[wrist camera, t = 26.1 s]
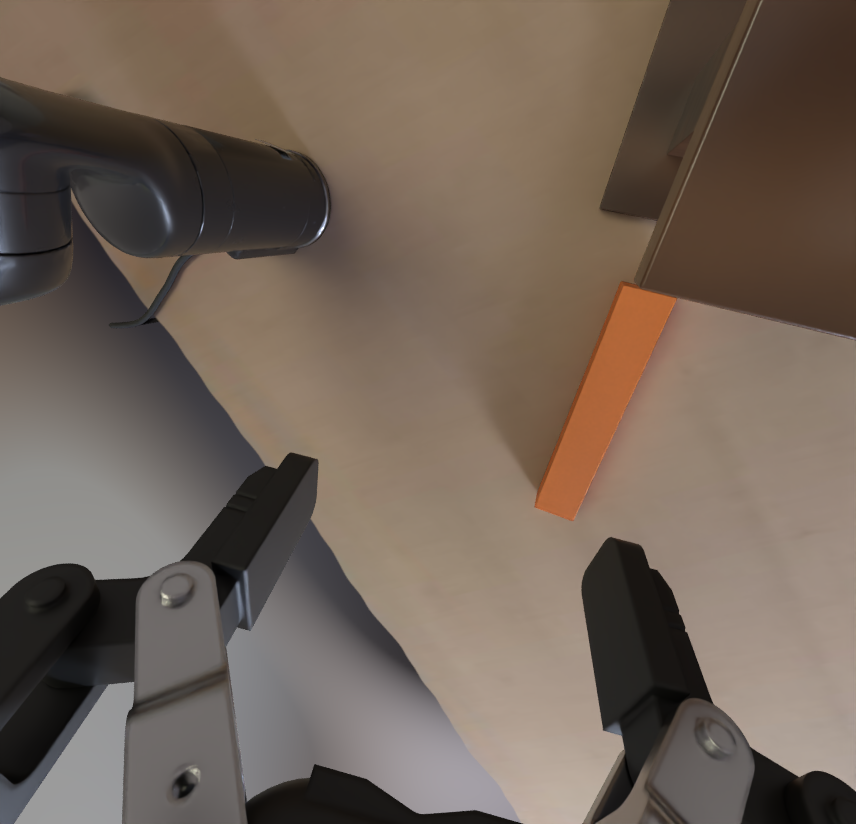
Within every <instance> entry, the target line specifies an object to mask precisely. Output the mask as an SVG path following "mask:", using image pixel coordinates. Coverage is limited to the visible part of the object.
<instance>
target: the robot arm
mask: <svg viewBox="0 0 856 824" xmlns="http://www.w3.org/2000/svg"><path fill="white" fill-rule="evenodd" d="M256 140H258V139H256ZM258 141H261V142H263V143H265V144H268V145H270V146H267V145H263V144H259V143H255V142H251V141H247V140H243V139H239V138H234V137H230V136H226V135H222V134H218V133H214V132H210V131H206V130H202V129H198V128H194V127H190V126H185V125H181V124H177V123H173V122H169V121H165V120H160V119H156V118H152V117H148V116H144V115H140V114H135V113H131V112H127V111H123V110H119V109H115V108H111V107H108V106H104V105H100V104H96V103H93V102H89V101H85V100H81V99H77V98H74V97H70V96H66V95H62V94H58V93H54V92H50V91H46V90H42V89H39V88H36V87H32V86H29V85H25V84H22V83H18V82H15V81H11V80H8V79H5V78H1V77H0V305H6V304H11V303H15V302H20V301H24V300H29V299H32V298H36V297H39V296H42V295H44V294H47V293H50V292H52V291H54V290H56V289H57V288H58V287H60V286H61V285H62V284H63V283H64V282H65V281H66V280H67V278H68V277H69V274H70V271H71V267H72V260H73V237H72V236H73V235H72V234H73V233H72V209H71V189H72V191H73V193H74V196H75V198H76V200H77V202H78V204H79V206H80V208H81V209H82V211H83V213H84V214H85V216H86V218H87V219H88V220H89V222H90V223H91V224H92V226H93V227H94V228H95V229H96V231H97V232H98V233H99V234H100V235H101V236H102V237H103V238H104V239H105V240H106V241H108V242H109V243H110V244H111V245H113V246H114V247H116V248H117V249H119V250H121V251H122V252H124V253H126V254H129V255H132V256H136V257H141V258H163V257H173V256H180V257H179V259H178V260H177V261H176V263H175V264H174V266H173V268H172V270H171V272H170V274H169V276H168V278H167V280H166V282H165V284H164V285H163V287H162V289H161V290H160V292H159V293H158V295H157V296H156V298H155V300H154V301H153V303H152V305H151V306H150V308H149V309H148V311H147V312H146V313H145V314H144V315H143V316H142V317H141V318H139V319H138V320H135V321H130V322H120V323H110V324H109V326H110V327H111V328H130V327H135V326H139V325H145V324H150V323H156V322H159V321H158V319H157V318H151V319H149V318H150V317H151V316H152V315H153V314H154V312H155V311H156V309H157V308H158V306H159V305H160V303H161V301H162V300H163V298H164V297H165V295H166V294H167V292H168V291H169V289H170V288H171V286H172V284H173V282H174V280H175V278H176V276H177V274H178V272H179V270H180V268H181V267H182V265H183V264H184V263H185V262H186V261H187V260H188V259H189V258H190V257H192V256H193V255H198V254H208V253H221V252H227V253H228V254H229V255H230V256H231V257H232V258H234V259H246V258H256V257H265V256H275V255H285V254H294V253H295V252H296V250H297V249H298V248H299V247H305V246H309V245H311V244H313V243H314V242H316V241H317V240H318V239H319V238H320V237H321V236H322V234H323V233H324V231H325V229H326V227H327V224H328V221H329V217H330V209H331V202H330V194H329V189H328V186H327V183H326V181H325V178H324V176H323V174H322V173H321V171H320V169H319V168H318V167H317V166H316V164H315V163H314V162H313V161H312V160H311V159H309V158H308V157H307V156H305V155H303V154H301V153H299V152H296V151H292V150H285V149H282V148H279V147H277V146H275V145H272V144H270V143H267V142H265V141H262V140H258ZM271 146H272V147H271ZM317 480H318V460H317V459H315V458H311V457H307V456H303V455H299V454H296V453H292V452H291V453H289V454H288V455H287V456H286V457H285V459H284V460H283V462H282V463H281V464H280V466H279V467H278V469H275V468H272V467H268V466H265V467H263V468H261V469H260V470H258V471H257V472H255V473H253V474H252V475H250V476H249V477H247V479H246V480H245V481H244V483H243V484H242V485H241V486H240V488H239V489H238V490H237V492H236V494H235V495H233V497H232V498H231V499H230V500H229V502H228V503H227V505H226V507H224V508H223V509H222V511H221V512H220V513H219V514H218V516H217V517H216V518H215V519H214V521H213V522H212V523H211V525H210V526H209V527H208V528H207V530H206V531H205V532H204V533H203V535H202V536H201V537H200V539H199V540H198V541H197V542H196V544H195V545H194V546H193V548H192V549H191V550H190V551H189V552H188V554H187V555H186V556H185V557H184V558H183V559H182V560H181V561H180V562H175V563H172V564H169V565H167V566H165V567H163V568H161V569H159V570H158V571H156V572H155V573H153V574H152V575H151V576H148V577H144V578H132V579H108V580H95V579H94V577H93V575H92V573H91V571H89V570H88V569H87V568H86V567H84V566H81V565H78V564H57V565H53V566H49V567H46V568H43V569H40V570H38V571H36V572H34V573H32V574H30V575H28V576H26V577H25V578H23V579H22V580H20V581H19V582H18V583H16V584H15V585H14V586H13V587H12V588H11V589H10V590H9V591H8V592H7V593H6V594H5V595H3V596H2V597H1V598H0V824H14V823H15V821H16V820H17V818H18V817H19V815H20V814H21V812H22V811H23V809H24V808H25V806H26V805H27V803H28V802H29V800H30V799H31V798H32V796H33V795H34V793H35V792H36V790H37V789H38V787H39V786H40V784H41V783H42V781H43V780H44V778H45V777H46V776H47V774H48V772H49V771H50V770H51V768H52V767H53V765H54V764H55V762H56V761H57V759H58V758H59V756H60V755H61V753H62V752H63V750H64V749H65V747H66V746H67V745H68V743H69V742H70V740H71V739H72V737H73V736H74V734H75V733H76V731H77V730H78V728H79V727H80V725H81V724H82V722H83V721H84V719H85V718H86V717H87V715H88V714H89V712H90V711H91V709H92V708H93V706H94V705H95V703H96V702H97V700H98V699H99V697H100V696H101V694H102V693H103V691H104V690H105V689H106V687H107V686H108V684H115V683H127V682H134V703H133V707H132V709H131V710H130V711H129V712H128V715H127V720H126V728H125V748H124V779H123V780H124V781H123V810H122V824H522V823H518V822H514V821H512V820H508V819H505V818H501V817H497V816H494V815H491V814H487V813H483V812H480V811H476V810H473V811H460V812H448V813H434V814H418V813H416V812H414V811H412V810H410V809H409V808H408V807H406V806H405V805H403V804H402V803H400V802H399V801H398V800H396V799H395V798H393V797H392V796H390V795H389V794H387V793H386V792H384V791H383V790H382V789H380V788H378V787H377V786H376V785H374V784H373V783H372V782H370V781H369V780H367V779H364V778H361V777H357V776H354V775H351V774H347V773H343V772H340V771H337V770H333V769H330V768H326V767H322V766H319V765H316V764H315V765H314V767H313V770H312V774H311V777H310V778H304V779H303V778H302V779H296V780H291V781H287V782H284V783H281V784H278V785H276V786H273V787H271V788H269V789H267V790H265V791H263V792H261V793H260V794H258V795H256V796H254V797H253V798H252V799H250V800H249V801H247V796H246V789H245V781H244V774H243V767H242V759H241V752H240V746H239V738H238V731H237V724H236V717H235V709H234V702H233V694H232V687H231V680H230V672H229V665H228V657H227V650H226V646H227V644H228V642H229V640H230V639H231V637H232V635H233V633H234V632H235V630H236V628H237V627H238V628H242V629H245V630H249V631H251V629H252V627H253V625H254V624H255V621H256V620H257V618H258V616H259V614H260V612H261V610H262V608H263V607H264V605H265V603H266V601H267V599H268V597H269V595H270V593H271V592H272V590H273V588H274V586H275V584H276V582H277V580H278V578H279V577H280V575H281V573H282V571H283V569H284V567H285V565H286V563H287V562H288V560H289V558H290V556H291V554H292V552H293V550H294V548H295V546H296V545H297V543H298V541H299V539H300V537H301V535H302V533H303V532H304V530H305V528H306V526H307V524H308V522H309V520H310V518H311V516H312V513H313V510H314V507H315V503H316V497H317ZM581 590H582V599H583V605H584V612H585V618H586V624H587V630H588V637H589V643H590V649H591V656H592V662H593V668H594V675H595V681H596V687H597V694H598V700H599V706H600V712H601V719H602V725H603V731H607V732H610V733H614V734H618V735H621V736H622V738H623V743H624V750H623V751H622V752H621V753H620V754H619V756H618V758H617V760H616V761H615V763H614V765H613V767H612V769H611V771H610V773H609V775H608V777H607V778H606V780H605V782H604V784H603V786H602V788H601V790H600V792H599V794H598V795H597V797H596V799H595V801H594V803H593V805H592V807H591V809H590V811H589V812H588V814H587V816H586V818H585V820H584V822H583V823H582V824H856V791H854V790H853V789H852V788H851V787H850V786H848V785H847V784H846V783H844V782H843V781H841V780H840V779H838V778H836V777H835V776H833V775H831V774H828V773H826V772H822V771H812V772H809V773H807V774H805V775H803V776H801V777H798V776H796V775H795V774H793V773H791V772H790V771H788V770H786V769H785V768H783V767H781V766H780V765H778V764H777V763H775V762H773V761H772V760H770V759H768V758H767V757H765V756H763V755H762V754H760V753H758V752H757V751H755V750H754V749H752V748H751V747H750V746H749V744H748V742H747V740H746V738H745V736H744V735H743V733H742V731H741V730H740V729H739V727H738V726H737V725H736V724H735V722H734V721H733V720H732V719H731V718H730V717H729V716H728V715H727V714H726V713H725V712H723V711H722V710H721V709H720V708H718V707H717V706H715V705H714V704H713V702H712V699H711V697H710V694H709V692H708V689H707V686H706V683H705V681H704V678H703V675H702V672H701V669H700V667H699V664H698V661H697V658H696V656H695V653H694V650H693V647H692V645H691V642H690V639H689V636H688V634H687V632H685V625H684V622H683V620H682V617H681V615H679V609H678V606H677V603H676V600H675V598H674V595H673V592H672V590H671V588H670V587H669V586H668V584H667V583H666V581H665V580H664V579H663V577H662V576H661V575H660V573H659V572H658V570H654V569H650V568H649V565H648V562H647V559H646V556H645V552H644V550H643V548H642V547H641V546H640V545H639V544H635V543H631V542H627V541H623V540H620V539H616V538H612V537H610V538H608V539H606V541H605V542H604V543H603V545H602V546H601V548H600V550H599V551H598V553H597V554H596V556H595V557H594V559H593V560H592V562H591V563H590V565H589V566H588V568H587V569H586V571H585V573H584V576H583V580H582V589H581Z"/></svg>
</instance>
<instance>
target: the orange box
mask: <svg viewBox="0 0 856 824" xmlns="http://www.w3.org/2000/svg"><path fill="white" fill-rule="evenodd" d="M676 300H677V298H676V297H672V296H668V295H664V294H659V293H655V292H651V291H647V290H643V289H641V288H640V287H639V286H638V285H635V284H631V283H627V282H623V281H621V282H620V285H619V287H618V290H617V292H616V295H615V297H614V300H613V302H612V305H611V307H610V310H609V313H608V315H607V318H606V320H605V323H604V325H603V328H602V330H601V333H600V335H599V338H598V340H597V343H596V345H595V348H594V350H593V353H592V355H591V358H590V360H589V363H588V366H587V368H586V371H585V373H584V376H583V378H582V381H581V383H580V386H579V388H578V391H577V393H576V396H575V398H574V401H573V403H572V406H571V408H570V411H569V414H568V416H567V419H566V421H565V424H564V426H563V429H562V431H561V434H560V436H559V439H558V441H557V444H556V446H555V449H554V451H553V454H552V456H551V459H550V461H549V464H548V467H547V469H546V472H545V474H544V477H543V479H542V482H541V484H540V487H539V489H538V492H537V496H536V502H535V508H538V509H541V510H543V511H546V512H549V513H552V514H554V515H557V516H560V517H562V518H565V519H568V520H571V521H574V519H575V516H576V514H577V512H578V510H579V508H580V506H581V504H582V501H583V499H584V497H585V495H586V493H587V491H588V489H589V486H590V484H591V482H592V480H593V478H594V476H595V473H596V471H597V469H598V467H599V465H600V463H601V461H602V458H603V456H604V454H605V452H606V450H607V448H608V446H609V443H610V441H611V439H612V437H613V435H614V433H615V431H616V428H617V426H618V424H619V422H620V420H621V418H622V416H623V413H624V411H625V409H626V407H627V405H628V403H629V400H630V398H631V396H632V394H633V392H634V390H635V388H636V385H637V383H638V381H639V379H640V377H641V375H642V373H643V370H644V368H645V366H646V364H647V362H648V360H649V358H650V355H651V353H652V351H653V349H654V347H655V345H656V342H657V340H658V338H659V336H660V334H661V332H662V330H663V327H664V325H665V323H666V321H667V319H668V317H669V315H670V312H671V310H672V308H673V306H674V304H675V302H676Z"/></svg>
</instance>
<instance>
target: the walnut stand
mask: <svg viewBox="0 0 856 824" xmlns="http://www.w3.org/2000/svg"><path fill="white" fill-rule="evenodd" d="M599 209H603V210H608V211H613V212H618V213H623V214H628V215H632V216H637V217H642V218H647V219H652V220H657V224H656V226H655V229H654V231H653V234H652V236H651V238H650V241H649V243H648V246H647V248H646V251H645V253H644V256H643V258H642V261H641V263H640V266H639V268H638V271H637V273H636V276H635V278H634V281H635V283H636V284H637V285H638V286H639V287H640V288H641V289H643V290H647V291H651V292H655V293H659V294H664V295H668V296H672V297H676V298H680V299H685V300H689V301H693V302H697V303H701V304H705V305H710V306H714V307H718V308H722V309H726V310H731V311H735V312H739V313H743V314H747V315H752V316H756V317H760V318H764V319H768V320H772V321H777V322H781V323H785V324H789V325H793V326H798V327H802V328H806V329H810V330H814V331H819V332H823V333H827V334H831V335H835V336H840V337H844V338H848V339H852V340H856V0H670V2H669V5H668V8H667V11H666V14H665V17H664V20H663V23H662V26H661V29H660V32H659V35H658V38H657V41H656V43H655V46H654V49H653V52H652V55H651V58H650V61H649V64H648V67H647V70H646V73H645V76H644V79H643V82H642V84H641V87H640V90H639V93H638V96H637V99H636V102H635V105H634V108H633V111H632V114H631V117H630V120H629V123H628V126H627V128H626V131H625V134H624V137H623V140H622V143H621V146H620V149H619V152H618V155H617V158H616V161H615V164H614V167H613V170H612V172H611V175H610V178H609V181H608V184H607V187H606V190H605V193H604V196H603V199H602V202H601V205H600V208H599Z"/></svg>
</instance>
